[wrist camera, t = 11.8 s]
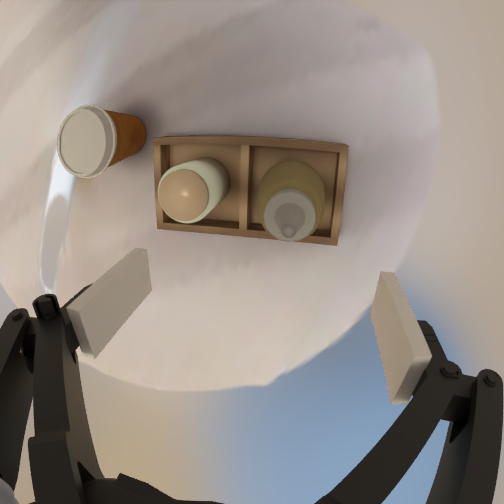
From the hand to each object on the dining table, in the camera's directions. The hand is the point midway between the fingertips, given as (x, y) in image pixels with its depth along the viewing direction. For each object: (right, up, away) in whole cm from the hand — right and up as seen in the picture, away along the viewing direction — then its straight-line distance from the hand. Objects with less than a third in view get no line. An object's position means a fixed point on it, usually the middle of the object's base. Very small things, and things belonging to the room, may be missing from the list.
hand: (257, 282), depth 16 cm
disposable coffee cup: (-19, +20, +25) cm, 37 cm away
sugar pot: (-7, +11, +25) cm, 28 cm away
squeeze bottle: (+5, +10, +23) cm, 26 cm away
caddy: (-1, +11, +25) cm, 28 cm away
